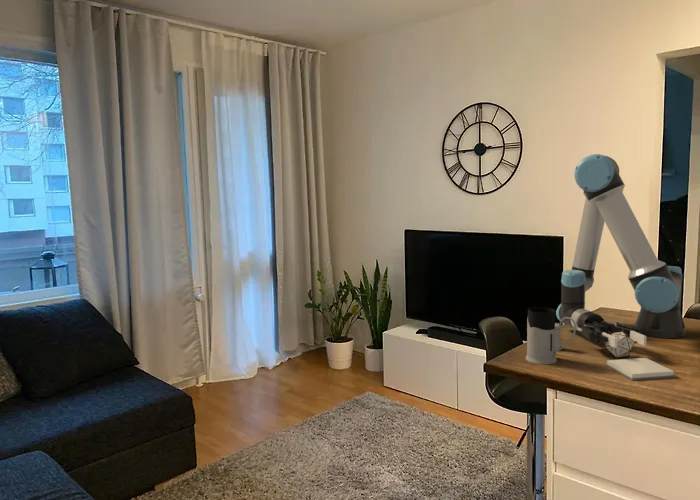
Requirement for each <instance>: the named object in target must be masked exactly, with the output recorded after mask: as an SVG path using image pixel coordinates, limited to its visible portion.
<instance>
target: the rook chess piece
mask: <svg viewBox="0 0 700 500" xmlns="http://www.w3.org/2000/svg"><path fill="white" fill-rule="evenodd" d="M559 327H560V322H555V329H559ZM560 333H561V329H560V330H559V331H555V352H556V351H557V350H558V349H560V348H561V347H563V346H564V344H563V342H562V341H561V337H560V335H561V334H560ZM562 350H563V348H562V349H561V350H560V351H562Z"/></svg>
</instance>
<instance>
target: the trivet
mask: <svg viewBox="0 0 700 500" xmlns="http://www.w3.org/2000/svg"><path fill="white" fill-rule="evenodd" d="M605 366H606V367H608V368H609V369H610V370H613V371H614V372H616V373H618V374H619V375H621V376H624V377H625V378H626V379H628V380H631V381H642V380H654V379H655V380H656V379H658V380H659V379H670V378H671V379H672V378H675V377H676V375H675V372H674V370H672V369H671V368H668V367H666V366H663V365H661V364H659V363H657V362H655V361H653V360H651V359H649V358H647V357H638V358H637V357H636V358H627V359H626V358H624V359H621V358H620V359H617V360H616V359H611V360H610V359H608V360H606V363H605Z"/></svg>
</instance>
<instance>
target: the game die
mask: <svg viewBox="0 0 700 500" xmlns="http://www.w3.org/2000/svg"><path fill="white" fill-rule="evenodd" d="M609 333H610V335H611V336H613V337H616V338H617V348H614V347H612V346H610V345H608V344H606V343H604V345H602V346H601V348H605V349H607V351H608V352H609V353H611V355H612V356H614V357H615V359H614V360H618V358H622V357H627V358H628V359H631V355H630V354H631V353H633V348H634V345H635V344H638V343H637V341H635V342H634V341H633V340H632V339H631V338H630V337H628V334H625V333H624V330H622V332H616V333H611V332H610V331H609Z"/></svg>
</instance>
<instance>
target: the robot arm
mask: <svg viewBox="0 0 700 500" xmlns="http://www.w3.org/2000/svg"><path fill="white" fill-rule="evenodd" d="M573 174H574V180H575V183H576V185H577V186H578V187H579V188H580V189H581V190H582V191H583V194H582V195H584V196H585V200H584V205H583V210H582V215H581V220H580V224H579V225H580V226H579V231H578V235H577V240H576V246H575V250H574V256H573V261H572V264H571V265H572V267H571V269H567V270H563V271H562V272H561V280H560V282H561V302H560V304H559V305H558V307H557V308H556V310H555V317H556V318H557V320H559V322H560V321H561V320H562V319H563V318H565V317H570V318H572V319H573V320H574V321H575V323H576V331H577V333H578V334H581V335H582V336H584V337H585V338H587V340H589V341H591V342H593V341H595V340H596V344H601V343H604V344H608V345H610V346H612V347H614V348H617V338H616V337H613V336H611V335H610V333H609V331H610V332H611V333H616V332H622V330H624V333H625V334H628V337H630V338H631V339H632V340H633V341H634V342H635V341H637V343H636V344H638V345H641V346H647V336H648V337H654V338H663V339H679V338H683V337H685V336H686V335H687V333H686V331H687V330H686V328H687V327H686V326H685V325H686V324H685V322H684V319H683V316H682V314H681V304H682V302H681V299H682V277H683V273H682V268H681V267H680V266H672V265H667V263H666V262H664V261H662V260H659V258H658V257H657V256H656V254H655V251H654V249H653V248H652V246H651V245H650V243H649V242H650V241H649V240H648V239H647V238H648V237H646V235H645V233H644V230H643V229H642V226H641V225H640V223H639V221H638V219H637V216H636V215H635V213H634V211H633V210H632V208H631V206H630V203H629V202H628V200H627V198H626V196H625V194H624V192H623V191H624V188H625V186H626V185H625V183H624V181H623V179H622V177H621V175H620V168H619V165H618V163H617V162H616V160H614V159H613V158H612V157H611V156H609V155H608V156H607V155H604V154H600V153H598V154H597V153H595V154H591V155H587V156H585V157H583V158H582V159H580V161H579V162H578V163H577V165H576V166H575V170H574V173H573ZM604 225H606V226H607V229H608V230H609V233H610V235H611V236H612V238H613V240H614V243H615V244H616V247H617V248H618V250H619V252H620V253H621V255H622V259H623V260H624V261H625V263H626V266H627V267H628V269H629V273H628V275H627V279H628V281H629V283H630V284H631V287H632V289H633V291H634V299H635V300H636V303H637V304H638V305H639V306H640V310H639V312H638V314H637V318H636V320H635V322H634V327H632V326H629V325H626V324H622V323H621V322H618V321H617V322H616V321H615V323H610V322H607V321H605V319H604V318H603V316H601V315H599V314H597V313H595V312H593V311H592V310H591V311H590V310H588V309H586V292H587V291H589V290H590V289H591V288H592V287H593V285H594V282H595V278H594V277H595V276H594V275H595V269H596V265H597V261H598V255H599V250H600V247H601V245H600V244H601V239H602V235H603V231H604ZM562 324H563V325H565V326H568V327H569V328H570V327H571V328H573V329H574V323H573V321H572V320H570V319H568V318H566V319H564V320H563V321H562Z"/></svg>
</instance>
